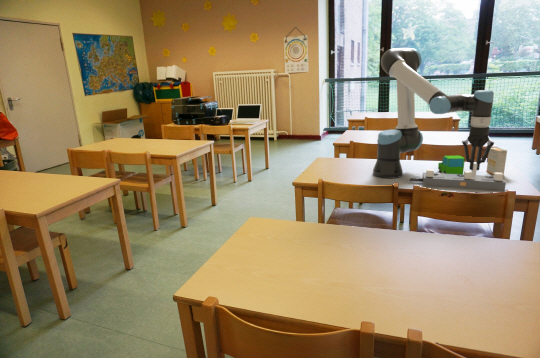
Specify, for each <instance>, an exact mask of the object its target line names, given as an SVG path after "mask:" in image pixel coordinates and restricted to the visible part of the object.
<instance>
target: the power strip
mask: <svg viewBox="0 0 540 358" xmlns="http://www.w3.org/2000/svg"><path fill="white" fill-rule="evenodd" d="M493 176H494V175H479V174H476V178H472V179H464V173H463V174H444V173H443V172H439V173H438V172H437V173H436V172H434V175H433V177H426V172H422V178H421V177H420V178H419V177H409V182H421V183H422V187H431V188H432V187H436V188H437V187H438V188H448V189H449V188H450V189H463V190H464V189H466V190H467V189H468V190H482V191H496V192H497V191H498V192H505V191H506V184H507V181H506V180H504V179H502V181H497V180H494V179H493Z"/></svg>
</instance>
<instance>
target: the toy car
mask: <svg viewBox="0 0 540 358" xmlns="http://www.w3.org/2000/svg"><path fill="white" fill-rule="evenodd" d="M465 160H466V157H464V156H461V155H443V158H442V160H441V162H438V164H437V168H438V172H439V173H443V174H463V175H464V171H465V170H464V169H465V163H466V162H465Z"/></svg>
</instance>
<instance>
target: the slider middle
mask: <svg viewBox="0 0 540 358" xmlns="http://www.w3.org/2000/svg"><path fill="white" fill-rule="evenodd" d="M472 174H473V173H472V170H463V175H464V179H472Z"/></svg>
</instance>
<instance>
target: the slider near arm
mask: <svg viewBox="0 0 540 358" xmlns="http://www.w3.org/2000/svg"><path fill="white" fill-rule="evenodd" d="M425 173H426V177H433V175H434V173H435V169H432V168H430V169H429V168H427V169H426V172H425Z"/></svg>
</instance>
